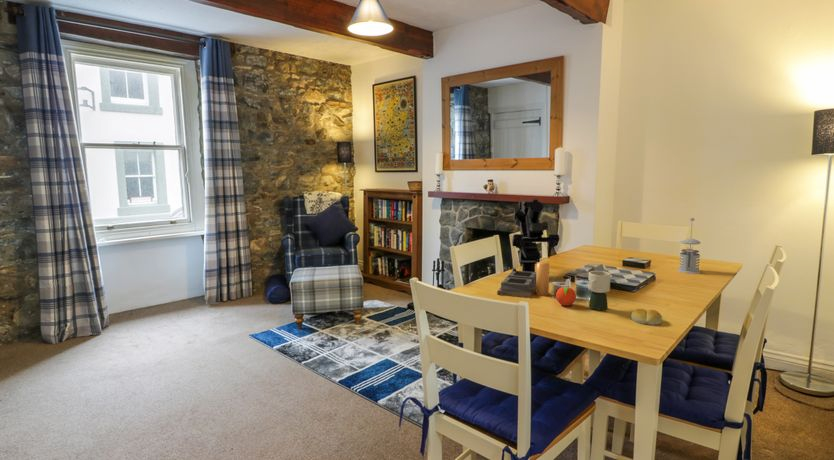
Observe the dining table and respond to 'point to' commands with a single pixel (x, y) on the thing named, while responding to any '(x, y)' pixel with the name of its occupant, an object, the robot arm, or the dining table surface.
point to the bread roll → (646, 317)
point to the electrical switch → (597, 268)
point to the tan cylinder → (542, 278)
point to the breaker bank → (518, 284)
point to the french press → (689, 257)
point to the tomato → (566, 296)
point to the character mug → (599, 289)
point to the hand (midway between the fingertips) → (537, 257)
